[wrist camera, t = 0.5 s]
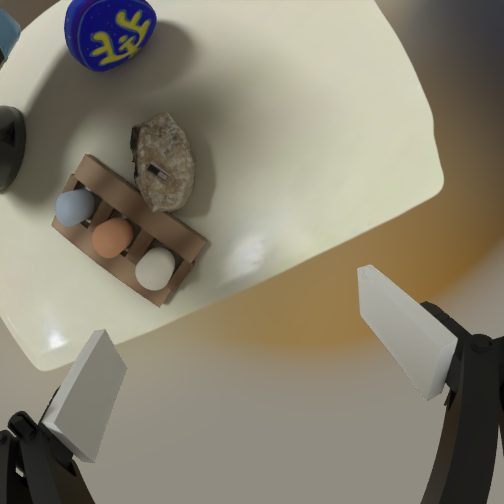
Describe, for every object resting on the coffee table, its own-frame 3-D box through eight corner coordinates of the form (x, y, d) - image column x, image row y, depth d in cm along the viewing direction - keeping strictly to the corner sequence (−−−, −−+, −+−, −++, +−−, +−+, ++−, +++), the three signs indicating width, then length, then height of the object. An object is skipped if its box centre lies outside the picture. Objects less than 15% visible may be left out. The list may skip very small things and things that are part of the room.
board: (54, 221, 34) (49, 223, 33) (87, 152, 32) (82, 152, 31) (164, 304, 40) (162, 309, 38) (209, 241, 37) (209, 244, 36)
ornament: (114, 89, 30) (58, 57, 15) (83, 58, 27) (27, 25, 13) (173, 35, 28) (147, -22, 14) (137, 8, 25) (103, -45, 11)
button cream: (138, 265, 36) (129, 276, 32) (154, 240, 35) (146, 249, 31) (164, 283, 37) (158, 296, 33) (181, 259, 36) (176, 270, 32)
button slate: (65, 209, 32) (50, 214, 29) (78, 182, 32) (63, 185, 28) (86, 226, 34) (72, 233, 30) (99, 199, 33) (86, 204, 29)
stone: (159, 214, 35) (146, 223, 29) (130, 132, 32) (111, 124, 25) (209, 194, 36) (206, 200, 29) (179, 111, 32) (171, 97, 25)
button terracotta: (99, 236, 34) (86, 244, 30) (113, 210, 33) (101, 216, 29) (123, 254, 35) (113, 265, 31) (139, 229, 34) (128, 237, 31)
